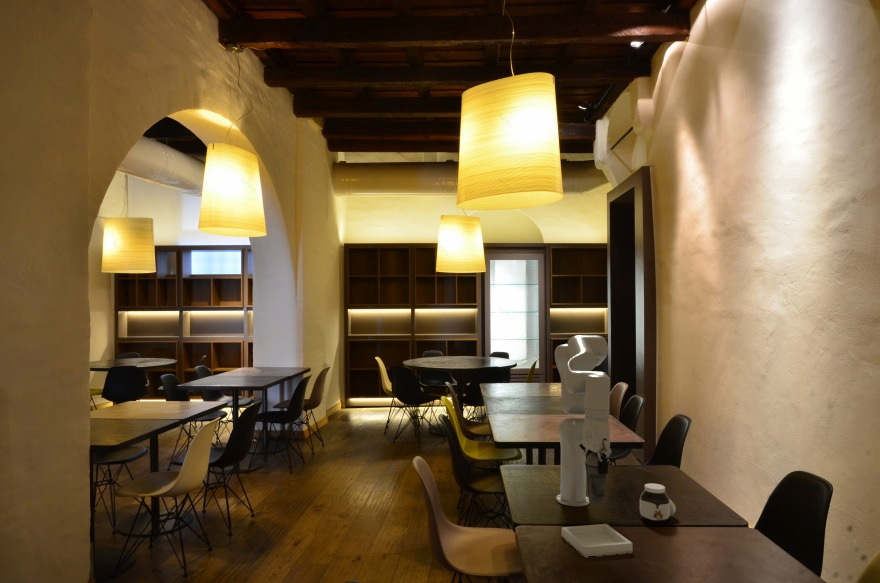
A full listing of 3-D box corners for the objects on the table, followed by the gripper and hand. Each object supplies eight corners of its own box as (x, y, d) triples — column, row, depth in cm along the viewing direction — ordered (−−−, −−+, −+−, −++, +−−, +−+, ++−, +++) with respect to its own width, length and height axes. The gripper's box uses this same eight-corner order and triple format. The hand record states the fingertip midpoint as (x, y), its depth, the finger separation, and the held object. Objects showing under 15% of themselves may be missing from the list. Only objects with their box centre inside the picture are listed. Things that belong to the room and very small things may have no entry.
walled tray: (561, 536, 194) (561, 527, 194) (606, 532, 197) (606, 523, 197) (584, 557, 178) (584, 547, 178) (632, 553, 182) (632, 543, 182)
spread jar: (638, 521, 209) (639, 487, 209) (640, 510, 219) (640, 478, 219) (675, 526, 204) (676, 492, 204) (675, 515, 215) (676, 482, 215)
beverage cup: (609, 506, 184) (609, 440, 184) (584, 504, 185) (585, 439, 185) (607, 498, 191) (607, 435, 191) (583, 496, 192) (584, 434, 192)
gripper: (573, 409, 196) (573, 463, 196) (599, 419, 179) (599, 479, 179) (594, 408, 198) (594, 462, 197) (622, 419, 181) (621, 477, 180)
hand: (596, 469), depth 188 cm, fingers closed on beverage cup, 7 cm apart
